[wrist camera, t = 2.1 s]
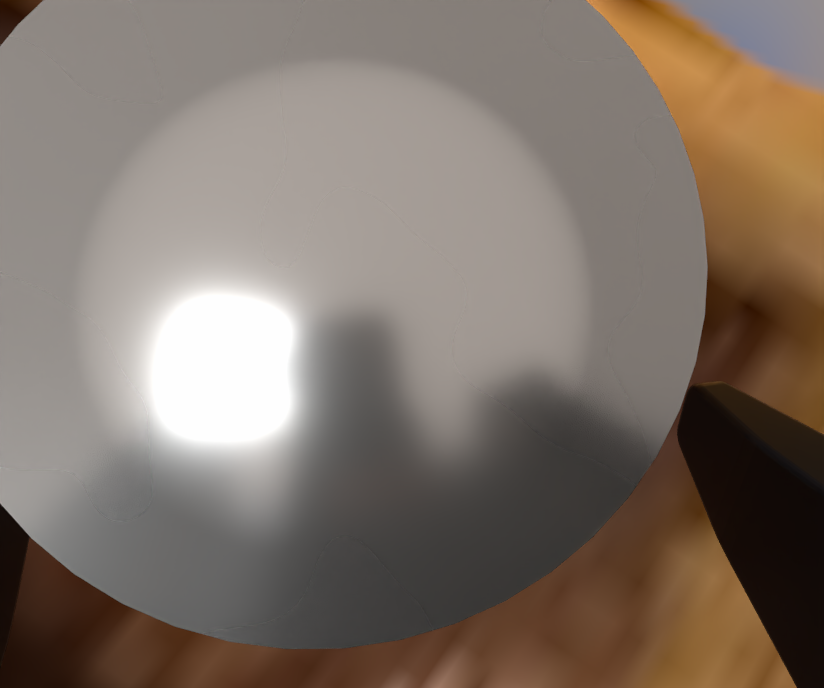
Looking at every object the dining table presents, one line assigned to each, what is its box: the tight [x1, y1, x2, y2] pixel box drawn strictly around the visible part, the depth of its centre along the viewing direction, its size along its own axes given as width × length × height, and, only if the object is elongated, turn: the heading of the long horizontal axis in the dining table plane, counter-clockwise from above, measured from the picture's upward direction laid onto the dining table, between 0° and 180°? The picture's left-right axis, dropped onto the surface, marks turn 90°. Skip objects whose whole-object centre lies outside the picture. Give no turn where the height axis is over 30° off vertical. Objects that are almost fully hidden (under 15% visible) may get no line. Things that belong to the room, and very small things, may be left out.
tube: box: [0, 0, 708, 649], centre depth 11 cm, size 5×5×14 cm
